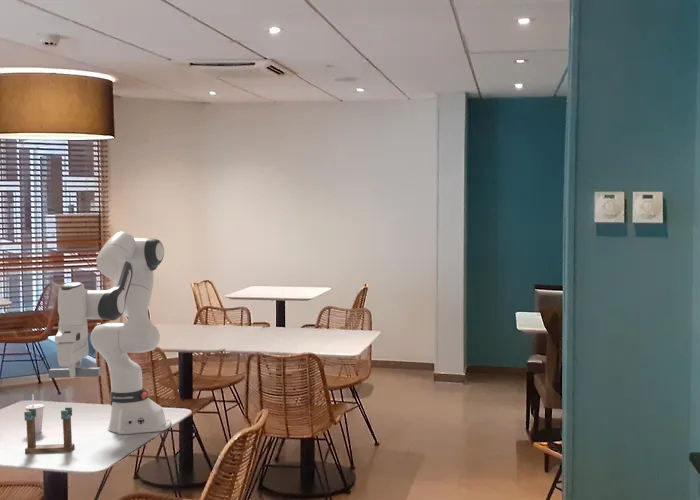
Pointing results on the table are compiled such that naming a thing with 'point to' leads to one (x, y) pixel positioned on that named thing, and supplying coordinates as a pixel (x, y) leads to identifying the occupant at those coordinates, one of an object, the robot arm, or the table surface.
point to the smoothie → (37, 414)
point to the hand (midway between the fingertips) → (75, 375)
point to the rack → (64, 447)
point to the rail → (79, 371)
